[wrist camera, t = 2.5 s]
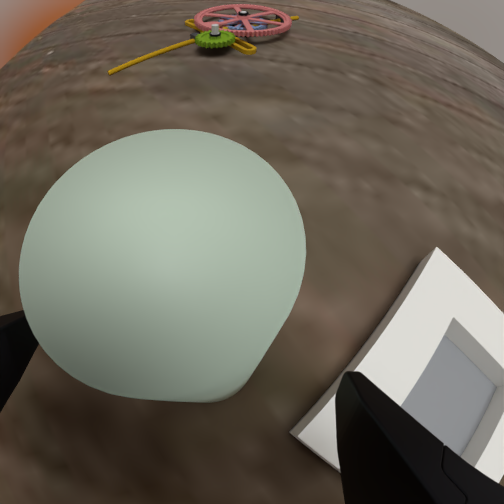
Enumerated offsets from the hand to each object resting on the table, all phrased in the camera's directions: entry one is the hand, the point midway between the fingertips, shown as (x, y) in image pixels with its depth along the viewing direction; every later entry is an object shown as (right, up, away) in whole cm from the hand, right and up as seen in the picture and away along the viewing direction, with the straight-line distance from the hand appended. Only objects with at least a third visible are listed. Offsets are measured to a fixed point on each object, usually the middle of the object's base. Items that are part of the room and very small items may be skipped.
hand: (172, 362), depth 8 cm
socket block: (+14, -7, +8) cm, 17 cm away
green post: (0, -3, +9) cm, 9 cm away
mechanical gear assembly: (-3, +31, +27) cm, 41 cm away
